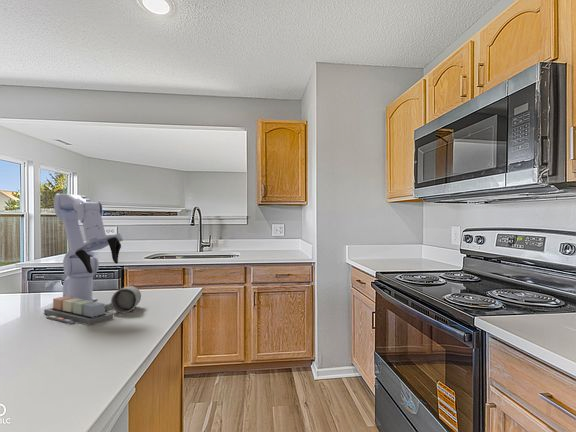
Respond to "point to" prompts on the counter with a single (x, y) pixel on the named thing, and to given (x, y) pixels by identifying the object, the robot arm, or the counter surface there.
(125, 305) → the ceramic mug
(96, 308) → the slate key
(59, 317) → the strip
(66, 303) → the sand key
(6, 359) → the counter surface
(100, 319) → the keypad base
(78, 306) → the sage key
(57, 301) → the terracotta key
